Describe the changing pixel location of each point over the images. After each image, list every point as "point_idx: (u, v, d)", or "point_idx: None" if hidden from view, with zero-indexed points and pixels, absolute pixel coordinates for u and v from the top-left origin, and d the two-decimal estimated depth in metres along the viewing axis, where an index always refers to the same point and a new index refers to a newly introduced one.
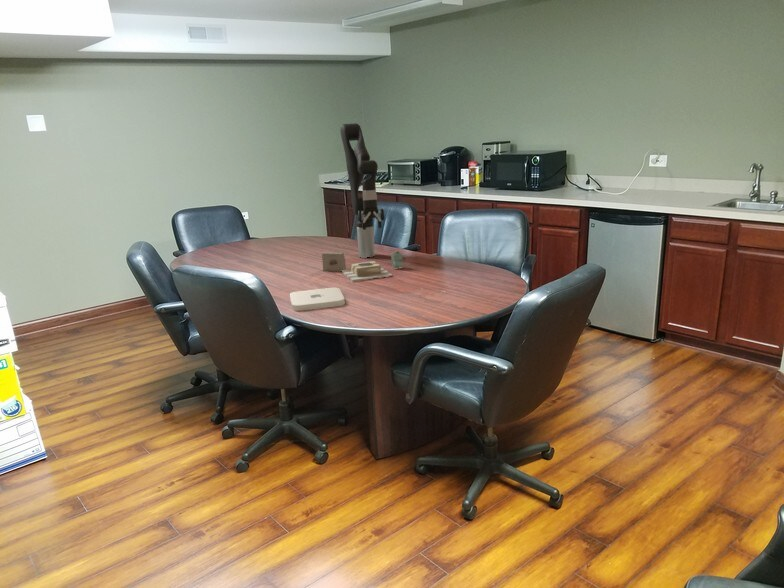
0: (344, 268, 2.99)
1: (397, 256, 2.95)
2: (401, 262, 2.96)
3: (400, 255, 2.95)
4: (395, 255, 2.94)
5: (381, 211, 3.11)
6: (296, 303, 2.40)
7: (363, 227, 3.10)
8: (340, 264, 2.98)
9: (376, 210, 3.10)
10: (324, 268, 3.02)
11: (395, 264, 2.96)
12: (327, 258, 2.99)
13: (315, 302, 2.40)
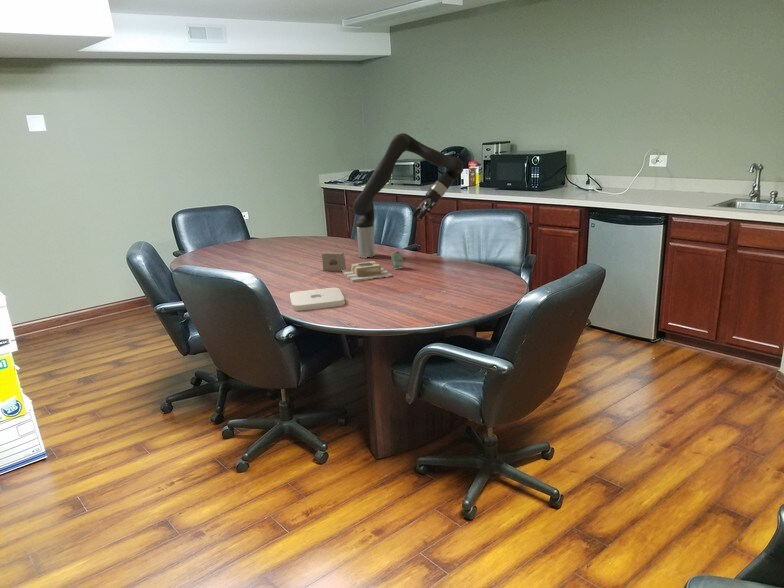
0: (344, 268, 2.99)
1: (397, 256, 2.95)
2: (401, 262, 2.96)
3: (400, 255, 2.95)
4: (395, 255, 2.94)
5: None
6: (296, 303, 2.40)
7: (422, 217, 2.91)
8: (340, 264, 2.98)
9: None
10: (324, 268, 3.02)
11: (395, 264, 2.96)
12: (327, 258, 2.99)
13: (315, 302, 2.40)
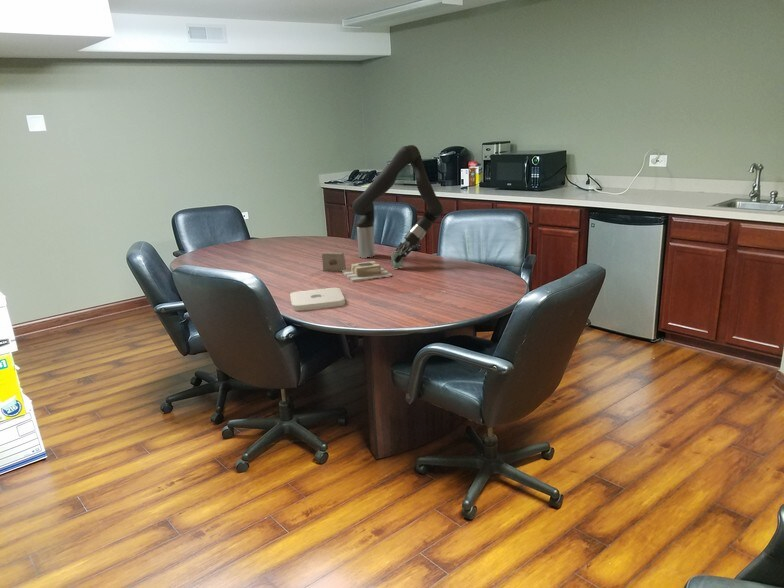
0: (344, 268, 2.99)
1: None
2: (401, 262, 2.96)
3: None
4: (395, 255, 2.94)
5: None
6: (296, 303, 2.40)
7: (399, 260, 2.95)
8: (340, 264, 2.98)
9: None
10: (324, 268, 3.02)
11: (395, 264, 2.96)
12: (327, 258, 2.99)
13: (315, 302, 2.39)
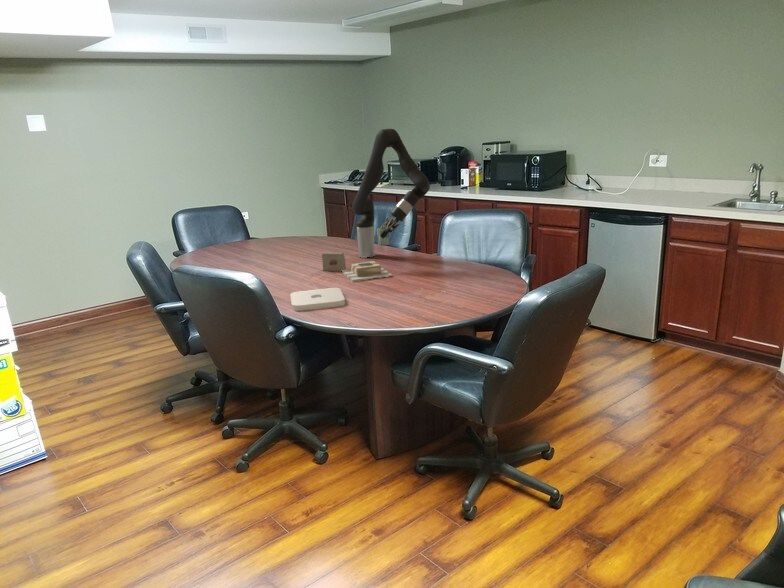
0: (344, 268, 2.99)
1: (383, 231, 2.87)
2: (387, 238, 2.89)
3: None
4: (381, 230, 2.87)
5: None
6: (296, 303, 2.40)
7: (385, 236, 2.87)
8: (340, 264, 2.98)
9: None
10: (324, 268, 3.02)
11: (381, 240, 2.88)
12: (327, 258, 2.99)
13: (315, 302, 2.39)
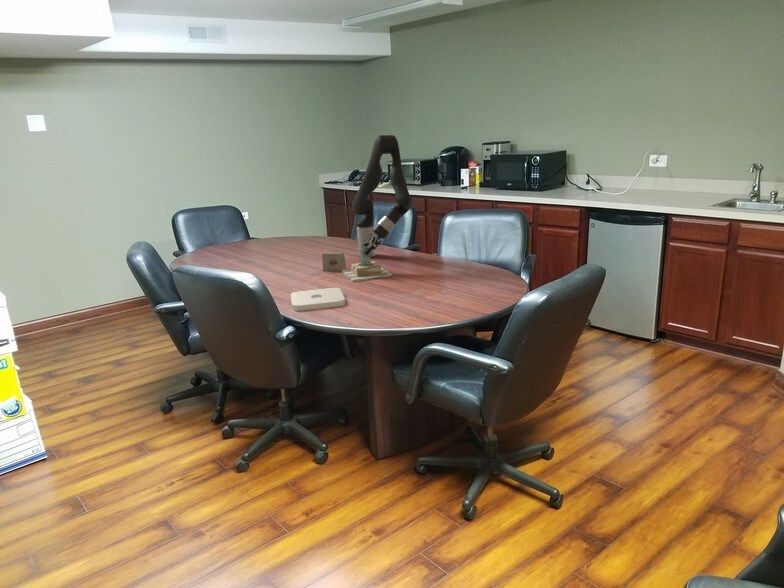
0: (344, 268, 2.99)
1: None
2: (369, 258, 2.86)
3: None
4: (363, 250, 2.84)
5: None
6: (296, 303, 2.40)
7: (368, 253, 2.82)
8: (340, 264, 2.98)
9: None
10: (324, 268, 3.02)
11: (363, 260, 2.85)
12: (327, 258, 2.99)
13: (315, 302, 2.39)
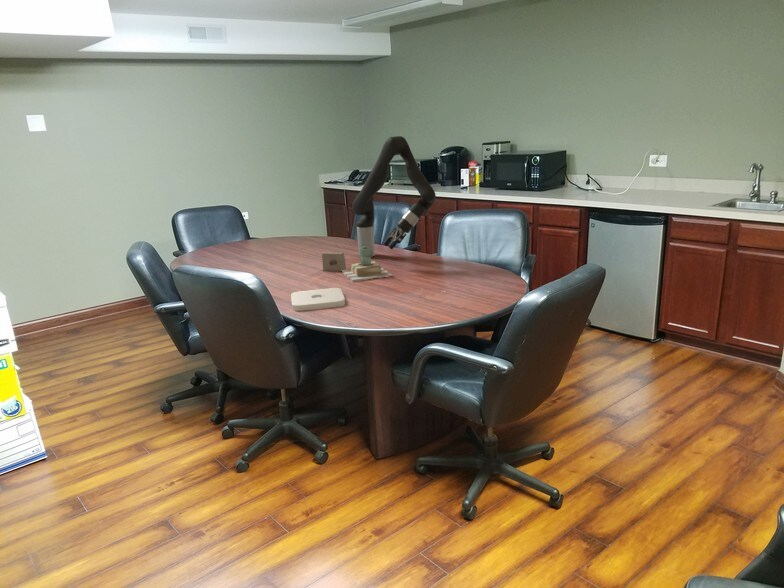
0: (344, 268, 2.99)
1: (365, 251, 2.84)
2: (369, 258, 2.86)
3: (368, 250, 2.85)
4: (363, 250, 2.84)
5: None
6: (296, 303, 2.40)
7: (393, 247, 2.86)
8: (340, 264, 2.98)
9: None
10: (324, 268, 3.02)
11: (363, 260, 2.85)
12: (327, 258, 2.99)
13: (315, 302, 2.39)
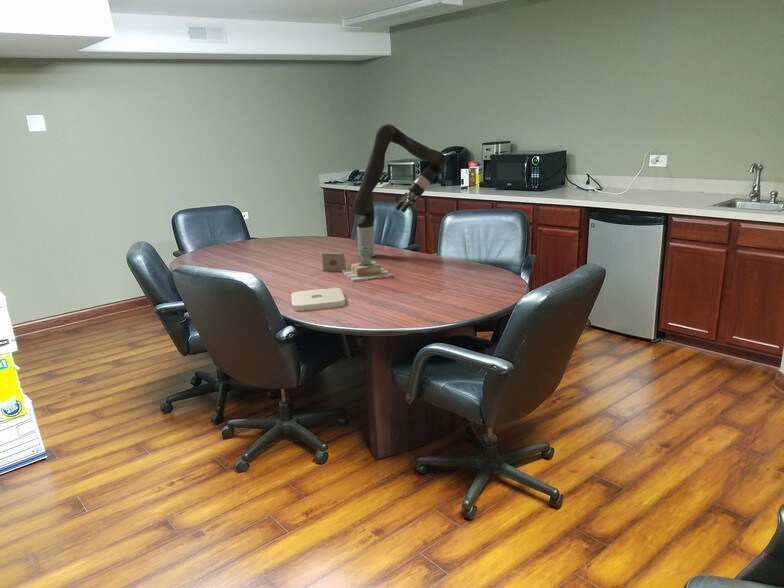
0: (344, 268, 2.99)
1: (365, 251, 2.84)
2: (369, 258, 2.86)
3: (368, 250, 2.85)
4: (363, 250, 2.84)
5: None
6: (296, 303, 2.40)
7: (405, 210, 2.93)
8: (340, 264, 2.98)
9: None
10: (324, 268, 3.02)
11: (363, 260, 2.85)
12: (327, 258, 2.99)
13: (315, 302, 2.39)
